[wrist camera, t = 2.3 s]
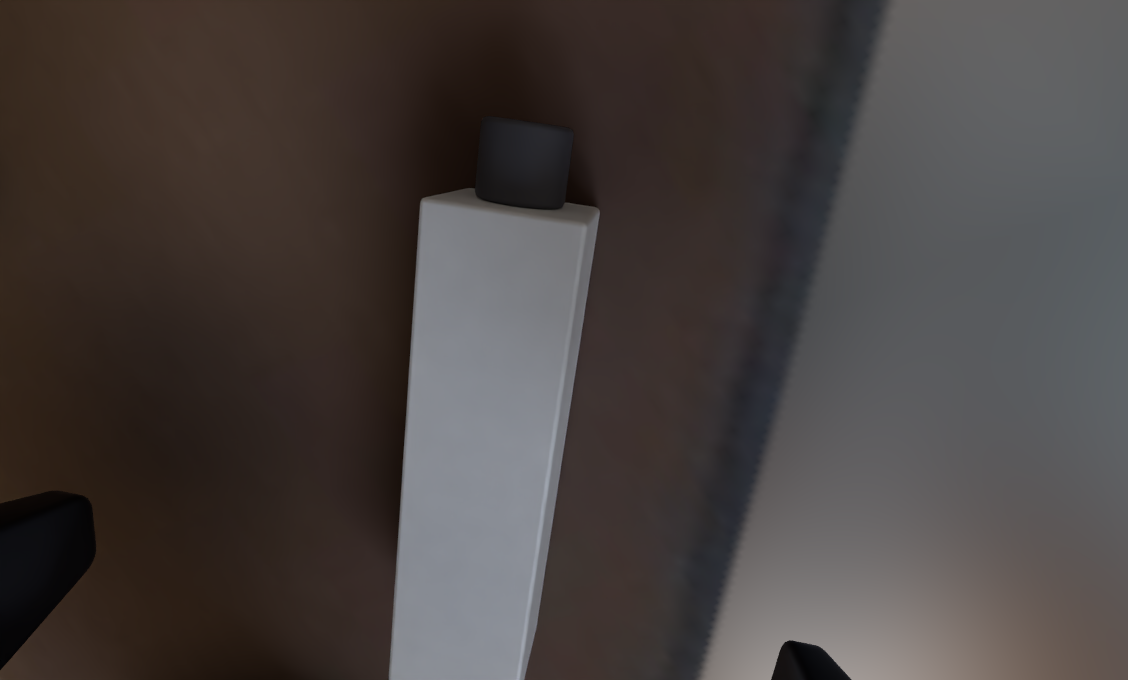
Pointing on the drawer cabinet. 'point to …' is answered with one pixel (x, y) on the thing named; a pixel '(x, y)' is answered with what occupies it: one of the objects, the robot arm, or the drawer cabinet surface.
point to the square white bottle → (488, 405)
